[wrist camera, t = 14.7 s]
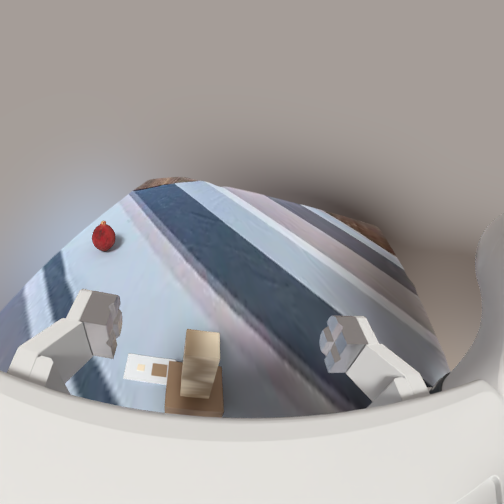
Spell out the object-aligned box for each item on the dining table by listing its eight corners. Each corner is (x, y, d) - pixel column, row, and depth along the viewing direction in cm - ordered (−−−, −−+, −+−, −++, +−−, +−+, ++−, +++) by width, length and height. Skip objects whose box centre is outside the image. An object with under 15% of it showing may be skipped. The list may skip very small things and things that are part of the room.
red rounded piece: (109, 259, 61) (107, 229, 57) (89, 254, 61) (86, 225, 57) (119, 247, 66) (118, 218, 62) (100, 242, 66) (98, 214, 62)
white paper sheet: (176, 360, 44) (176, 359, 44) (173, 385, 39) (173, 384, 39) (128, 354, 42) (128, 352, 42) (123, 378, 38) (123, 377, 38)
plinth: (218, 376, 43) (221, 366, 41) (220, 420, 36) (223, 412, 35) (168, 371, 41) (169, 360, 40) (164, 415, 35) (164, 406, 33)
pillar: (208, 375, 39) (219, 332, 34) (208, 398, 36) (220, 358, 31) (181, 372, 39) (186, 328, 33) (180, 395, 35) (184, 354, 30)
